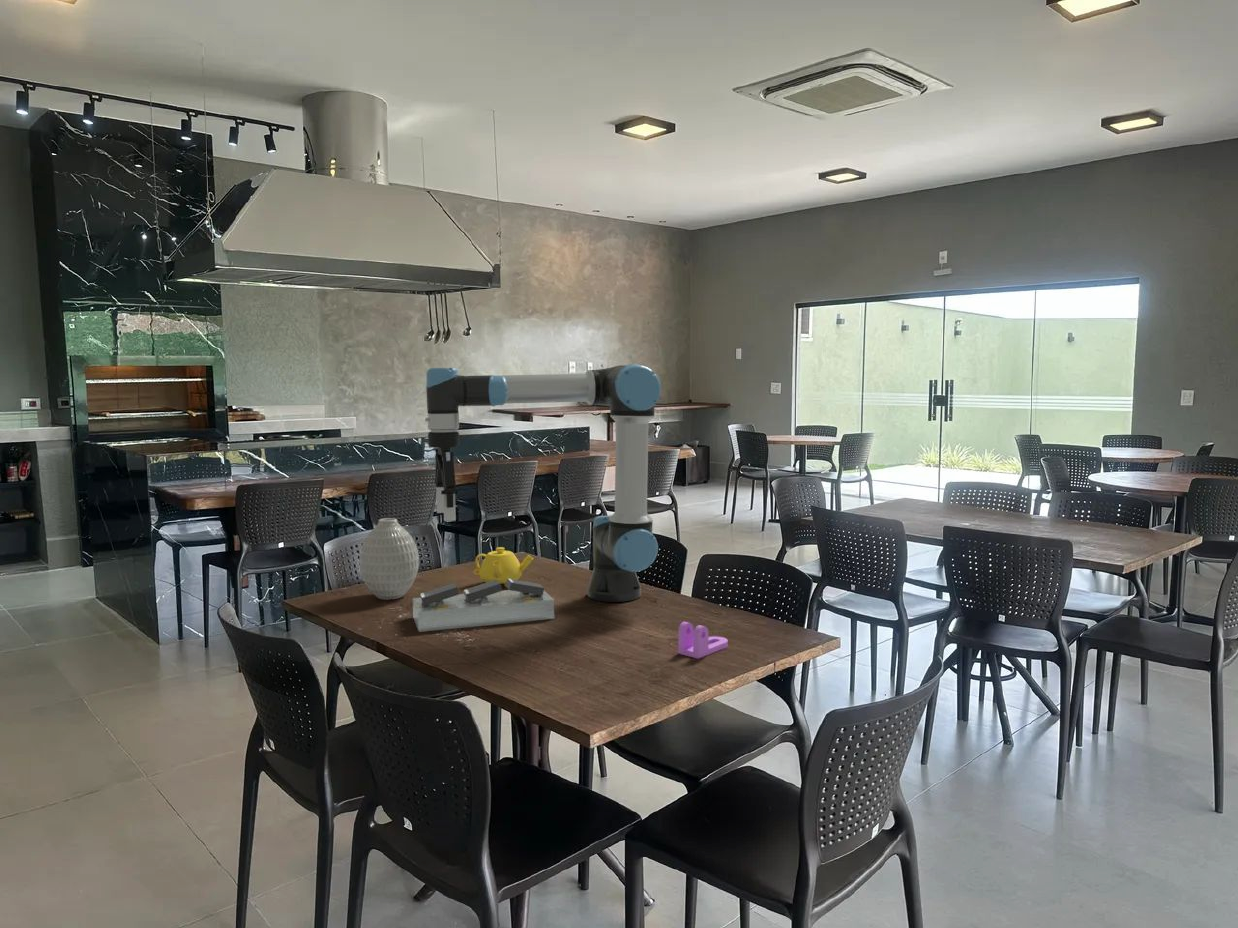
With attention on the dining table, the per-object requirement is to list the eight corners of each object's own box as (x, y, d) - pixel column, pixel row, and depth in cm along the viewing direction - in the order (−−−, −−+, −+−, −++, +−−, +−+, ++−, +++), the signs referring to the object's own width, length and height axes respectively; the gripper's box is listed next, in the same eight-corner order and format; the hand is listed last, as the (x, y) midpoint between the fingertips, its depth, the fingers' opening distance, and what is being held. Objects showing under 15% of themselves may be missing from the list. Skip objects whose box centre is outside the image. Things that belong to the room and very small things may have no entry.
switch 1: (456, 589, 220) (454, 582, 220) (459, 594, 215) (456, 586, 215) (421, 601, 217) (419, 593, 217) (424, 605, 213) (421, 598, 212)
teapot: (495, 592, 247) (495, 554, 246) (468, 584, 257) (468, 548, 256) (535, 584, 257) (534, 547, 256) (507, 577, 267) (507, 541, 266)
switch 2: (498, 586, 223) (496, 578, 223) (502, 590, 219) (500, 583, 218) (465, 597, 221) (463, 589, 220) (468, 602, 216) (466, 594, 216)
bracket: (698, 659, 187) (698, 628, 186) (678, 653, 191) (678, 623, 190) (732, 645, 197) (732, 616, 196) (712, 640, 200) (713, 611, 200)
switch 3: (538, 591, 227) (539, 583, 227) (542, 595, 222) (544, 587, 222) (505, 585, 224) (507, 577, 224) (509, 590, 219) (511, 582, 219)
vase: (431, 594, 245) (429, 517, 243) (388, 607, 232) (386, 525, 229) (392, 587, 254) (389, 513, 252) (348, 599, 240) (345, 520, 238)
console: (541, 605, 232) (540, 584, 232) (554, 618, 219) (553, 596, 219) (413, 617, 221) (412, 595, 221) (418, 631, 208) (418, 609, 208)
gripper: (422, 428, 220) (424, 510, 222) (434, 434, 197) (437, 525, 199) (451, 427, 223) (454, 508, 225) (466, 433, 199) (469, 523, 201)
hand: (446, 516), depth 212 cm, fingers open, 13 cm apart
